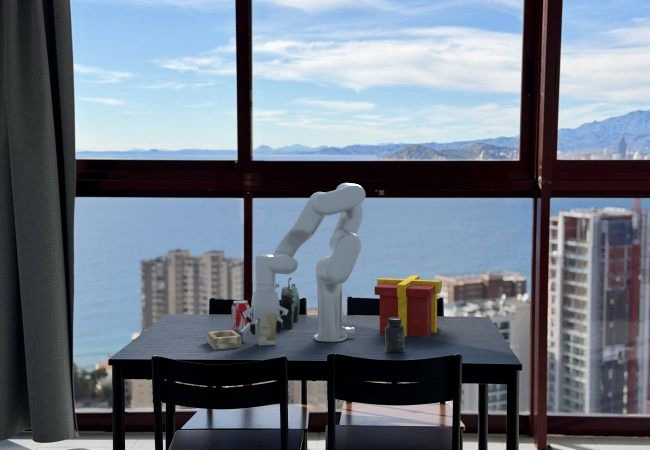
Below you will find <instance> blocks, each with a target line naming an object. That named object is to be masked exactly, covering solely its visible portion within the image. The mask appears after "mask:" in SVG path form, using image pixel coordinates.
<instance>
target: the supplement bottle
mask: <svg viewBox="0 0 650 450" xmlns="http://www.w3.org/2000/svg"><path fill="white" fill-rule="evenodd" d="M388 324H389V325H388V326H386V328H385V334H384V339H385V340H384V341H385V344H384V347H385V352H386V353H388V354H393V355H394V354H395V355H396V354H397V355H398V354H403V353H405V344H406V343H405V342H406V341H405V340H406V339H405V338H406V337H405V330H404V327H403V326H402V325H401V324H402V319H401V318H399V317H391V318H388Z"/></svg>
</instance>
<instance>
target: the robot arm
mask: <svg viewBox="0 0 650 450" xmlns="http://www.w3.org/2000/svg"><path fill="white" fill-rule="evenodd" d="M365 199H366V191H365V189H364V188H363V187H362V186H361V185H359V184H356V183H349V182H344V183H341V184H339V185H338V186H337V187H336V189H335V190H331V191H327V192H322V191H317V192H314V193H313V194H312V195H310V197H309V199H308V200H307V201H306V204H305V205H304V207H303V209H302V211H301V212H300V214H299V215H298V218H297V219H296V221H295V223H294V224H293V225H292V227H291V228H290V229H289V230H288V232H286V234H285V235H284V236H283V238H282V239H281V240H280V242H279V243H278V246H277V247H276V249H275V251H274V252H273V254H271V253H270V254H269V253H262V254H258V255H256V256H255V261H254V270H255V271H254V272H255V274H254V276H255V279H254V280H255V287H254V289H255V290H254V291H253V292H252V297H251V305H250V307H249V309H248V310H246V311H244V312H243V315H244V317H245V319H246V320H247V321H248V322H249V323H250V330H249V332H250V334H251V335H252V336H255V335H256V324H254V323H255V321H256V320H257V319H260V318H264V317H266V316H268V315H270V314H271V313H275V320H276V321H275V333H278V334H281V331H282V329H283V320H284V319H285V317H286V315H287V313H288V310H287V309H285V308H283V307H282V305H280V299H279V298H280V297H279V292H278V291H277V289H278V288H280V283H277V281H276V280H277V279H276V278H277V276H276V275H277V274H279V275H291V274H293V273H295V272H296V270H297V269H298V266H299V263H298V260H297V258H296V257H295V255H296V253H297V251H298V250H299V249H300V248H301V247H302V245H303V244H305V243H307V242H308V241H309V240H311V239H313V237H314V236H315V234H317V231H318V229H319V228H320V226H321V224H322V222H323V220H324V219H325V218H326V216H334V215H336V214H337V215H338V214H339V213H340V214H339V218H338V220H337V223H336V225H335V227H334V230H333V232H332V234H331V236H330V237H329V238H330V239H329V242H328V246H329V249H330V251H331V252H332V254H331V255H326V256H323V257H321V258H320V259H318V261H317V262H316V266H315V277H316V287H317V333H315V334H314V336H313V339H314V340H315V341H317V342H322V343H323V342H325V343H336V342H337V343H338V342H343V341H346V340H347V339H348V333H349V334H350V333H351V334H352V333H355V332H356V329H355V328H356V327H354V326H353V327H349V326H347V327H346V326H344V321H343V320H344V319H343V315H344V314H343V313H344V311H343V307H344V305H343V300H344V299H343V295H344V294H343V284H344V283H345V282H347V281H348V279H349V277H350V276H351V274H352V271H353V269H354V267H355V265H356V263H357V260H358V258H359V255H360V253H361V249H362V241H361V239H360V238H359V236H358V233H359V230H360V226H361V224H362V221H363V217H364V211H363V210H364V209H363V205H362V204H363V203H364V201H365ZM282 311H283V314H282V313H281V312H282ZM249 313H250V315H251V317H250V318H249V317H248V314H249Z"/></svg>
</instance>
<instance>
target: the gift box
mask: <svg viewBox="0 0 650 450" xmlns="http://www.w3.org/2000/svg"><path fill="white" fill-rule="evenodd" d="M420 277H421V276H420V275H414V274H413V275H410V276H408V277H406V278H390V277H389V278H388V277H387V278H385V277H384V278H383V277H378V278H377V279H376V284H377V285H376V286H374V295H375V296H379V334H380V335H385V328H386V326H388V325H389V324H388V318H391V317H399V318H401V319H402V324H401V325H402V326H403V327H404V330H405V338H406V337H408V336H409V337H421V338H428V336H430V335H431V334H432V333H433V334H436V333H437V332H438V315H437V314H438V295H439V294H441V291H442V286H443V285H442V284H443V282H442V280H434V279H433V280H432V279H421V278H420Z"/></svg>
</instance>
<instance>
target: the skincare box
mask: <svg viewBox="0 0 650 450" xmlns="http://www.w3.org/2000/svg"><path fill="white" fill-rule="evenodd" d="M256 324H257V329H256V330H257V331H256V333H257V337H256V338H257V339H256V340H257V345H258V346H275V345H276V318H275V313H271V314H270V315H268V316H266V317H264V318H260V319H258V322H257V323H256Z"/></svg>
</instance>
